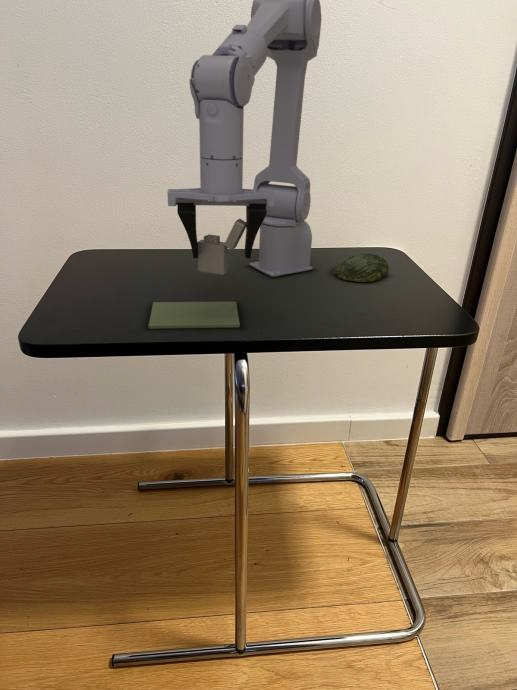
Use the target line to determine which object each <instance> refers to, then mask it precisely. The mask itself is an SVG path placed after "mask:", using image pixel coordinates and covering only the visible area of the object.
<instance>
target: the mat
mask: <svg viewBox="0 0 517 690" xmlns="http://www.w3.org/2000/svg"><path fill="white" fill-rule="evenodd" d="M240 327H241V323H240V316H239V311H238V304H237V301H153V302H152V305H151V312H150V317H149V322H148V329H150V330H151V329H156V330H157V329H159V330H160V329H225V328H226V329H227V328H228V329H229V328H230V329H231V328H233V329H235V328H237V329H239V328H240Z"/></svg>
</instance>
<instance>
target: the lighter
mask: <svg viewBox="0 0 517 690" xmlns="http://www.w3.org/2000/svg"><path fill="white" fill-rule="evenodd" d="M247 224H248V223H246V220H245V221H244V219H241V218H237V220H235V221H234V223H233V225H232V227H231V230H230V231H229V234H228V236H227V238H226V240H225V241H221V235H218V234H217V235H216V234H206V235H203V239H199V240H197V244H198V258H197V272H202V273H209V274H214V275H225V274H227V273H228V269H229V268H228V263H229V262H228V261H229V260H228V258H229V255H228V254H229V253H228V252H229V250H231V251H234V249H236V248H237V246H238V244H239V242H240V240H241V238H242V237H243V234H244V232H245V231H246V226H247Z"/></svg>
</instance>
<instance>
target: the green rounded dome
mask: <svg viewBox="0 0 517 690" xmlns="http://www.w3.org/2000/svg"><path fill="white" fill-rule="evenodd" d="M332 273H333V274H334V276H335V277H337V278H338V279H341V280H343V281H349V282H356V283H372V282H376V281H379V280H381V279H382V277H387V275H388V273H389V263H388V261H387V260H386V259H385V258H384V257H382V256H380V255H377V254H373V253H359V254H356V255H352V256H350V257H348V258H346V259H344V260H343V261H341V262H340V263H339V264H338V265H336V267H335V268H334V269H333V272H332Z"/></svg>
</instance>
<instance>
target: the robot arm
mask: <svg viewBox="0 0 517 690" xmlns="http://www.w3.org/2000/svg"><path fill="white" fill-rule="evenodd" d="M321 27H322V7H321V0H252V5H251V9H250V21H249V22H248V23H247V25H246V24H235V25H234V26H233V28H231V30H232V31H231V32H230V33H229V35H228V36H227V37H226V38H225V39H224V40H223V42H222V43H220V45H219V46H218V47H217V49H215V50H214V52H213V53H212V54H204V55H201V56H200V57H199V58H198V59H196V60H195V61H194V62H193V64H192V66H191V71H190V78H189V80H188V81H189V82H188V83H189V90H190V94H191V97H192V100H193V103H194V115H195V118H196V119H197V120H198V122H199V123H198V125H199V127H198V128H199V183H200V185H199V187H194V188H192V187H191V188H168V189H167V206H168V207H176V206H177V211H176V213H177V215H178V218H179V220H180V221H181V223H182V225H183V227H184V230H185V232H186V234H187V238H188V240H189V244H190V247H191V252H192V258H193V259H198V244H197V242H198V235H197V206H211V207H212V206H216V207H217V206H221V207H225V206H227V207H228V206H230V207H246V208H245V222H246V223H248V224H247V226H246V228H245V239H244V240H245V241H244V257H245V259H251V258H252V252H253V247H254V244H255V240H256V237H257V235H258V232H259V242H258V243H259V244H258V245H259V246H258V247H259V248H258V261H253V262H249V266H250V267H252V268H254V269H256V270H258V271H259V272H262V273H263V274H264V275H267V276H269V277H272V278H274V277H280V276H286V275H289V274H290V275H291V274H296V273H303V272H307V271H311V270H313V267H312V266H311V257H312V256H311V254H312V243H313V242H312V241H313V234H312V229H311V226H310V224H309V223H308V222H307V221H306V220H307V218H308V216H309V213H310V210H311V202H312V201H311V199H312V198H311V180H310V179H309V177H308V176H307V175H306V174H305V173H304V172H303V170H301V169H300V168H299V167H298V165H297V163H298V153H299V145H300V144H299V142H300V134H301V133H300V132H301V124H302V123H301V122H302V114H303V113H302V112H303V101H304V92H305V83H306V82H305V81H306V74H307V69H308V63H309V61H312V60H314V58H316V57H317V56H318V50H319V47H320V39H321V29H322V28H321ZM267 58H269V59H270V60H273V61H274V64H275V65H276V76H275V77H276V78H275V88H274V100H273V113H272V124H271V137H270V150H269V161H268V166H266V167H265V168H264V169H263V170H260V171H259V172H258V173H257V174H256V175H255V177H254V180H253V181H254V182H253V188H243V182H244V181H243V177H244V175H243V173H244V121H245V120H244V114H245V113H244V111H245V106H246V105H248V104H249V103H250V100H251V96H252V92H253V86H254V85H255V80H256V79H255V76H256V75H257V74H258V73H259V71H260V70H261V68H262V67H263V65H265V63H266V61H267ZM273 182H274V183H273ZM275 183H282V184H275ZM283 183H284V184H283ZM285 184H291V185H285Z"/></svg>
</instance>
